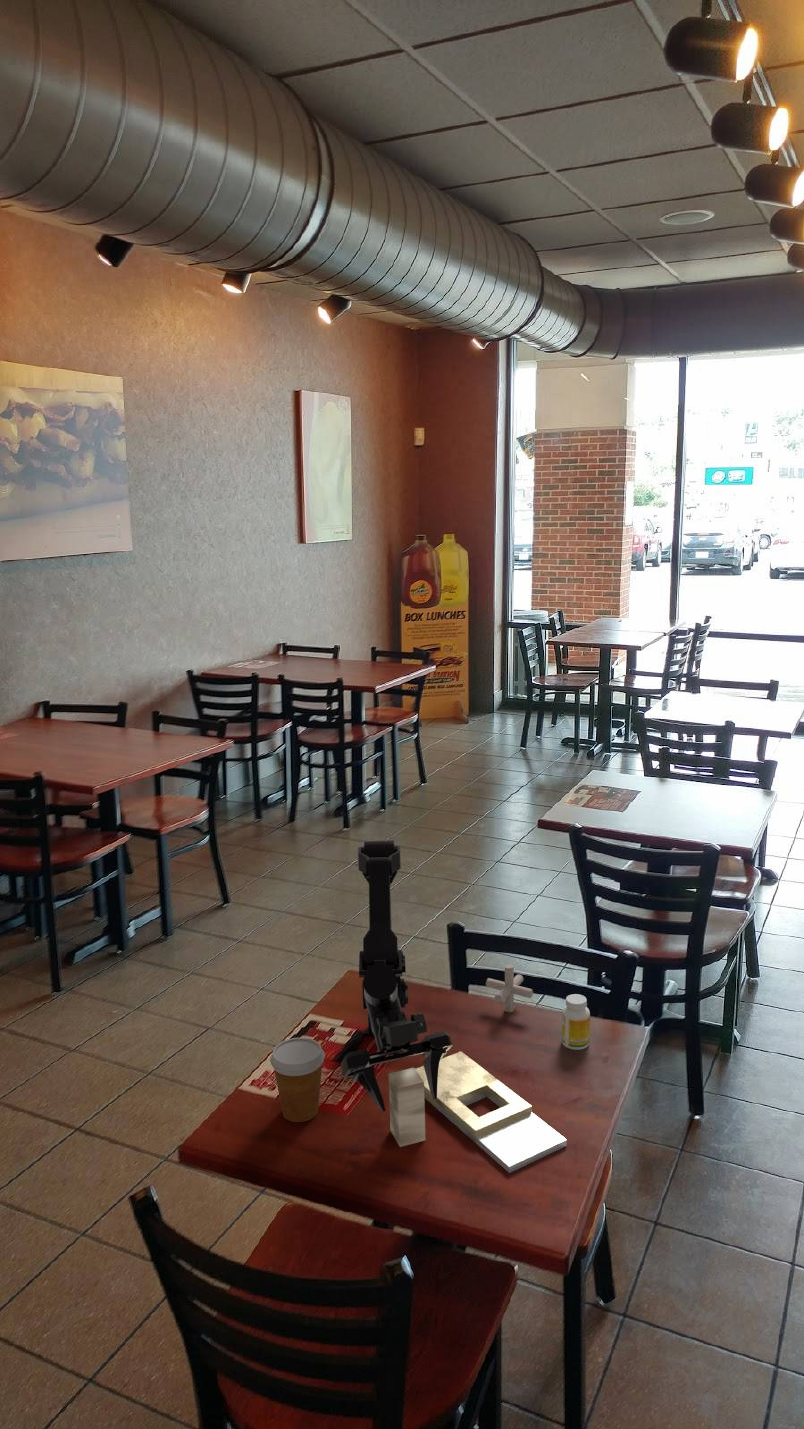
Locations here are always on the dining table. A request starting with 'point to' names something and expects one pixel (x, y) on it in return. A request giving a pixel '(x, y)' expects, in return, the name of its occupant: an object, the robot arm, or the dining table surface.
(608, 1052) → the dining table surface
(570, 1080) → the dining table surface
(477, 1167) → the dining table surface
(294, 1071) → the disposable coffee cup
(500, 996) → the pipe connector
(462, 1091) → the plate with square hole
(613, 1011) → the dining table surface
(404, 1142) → the maple pin
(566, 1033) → the supplement bottle
